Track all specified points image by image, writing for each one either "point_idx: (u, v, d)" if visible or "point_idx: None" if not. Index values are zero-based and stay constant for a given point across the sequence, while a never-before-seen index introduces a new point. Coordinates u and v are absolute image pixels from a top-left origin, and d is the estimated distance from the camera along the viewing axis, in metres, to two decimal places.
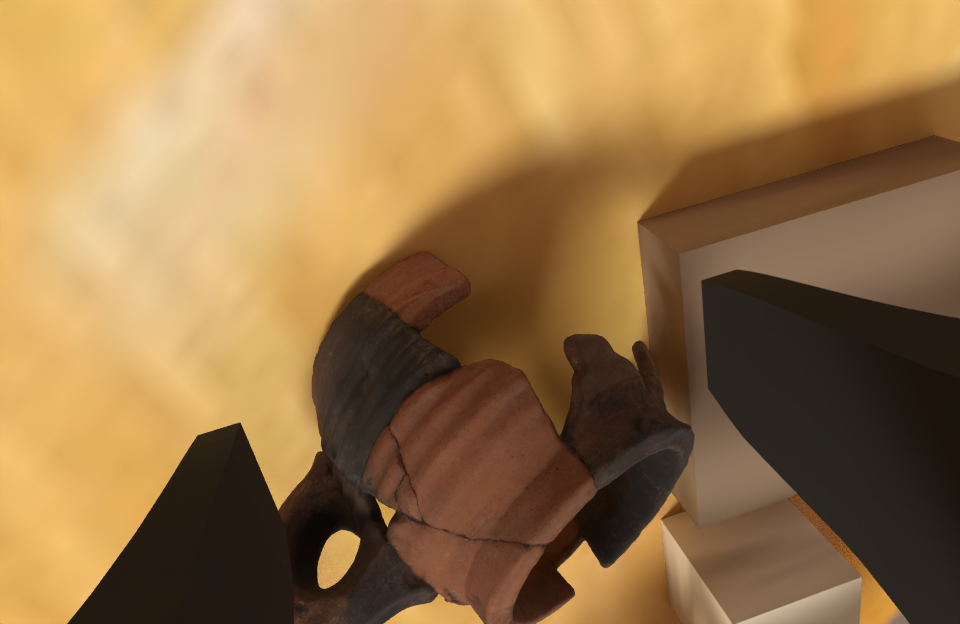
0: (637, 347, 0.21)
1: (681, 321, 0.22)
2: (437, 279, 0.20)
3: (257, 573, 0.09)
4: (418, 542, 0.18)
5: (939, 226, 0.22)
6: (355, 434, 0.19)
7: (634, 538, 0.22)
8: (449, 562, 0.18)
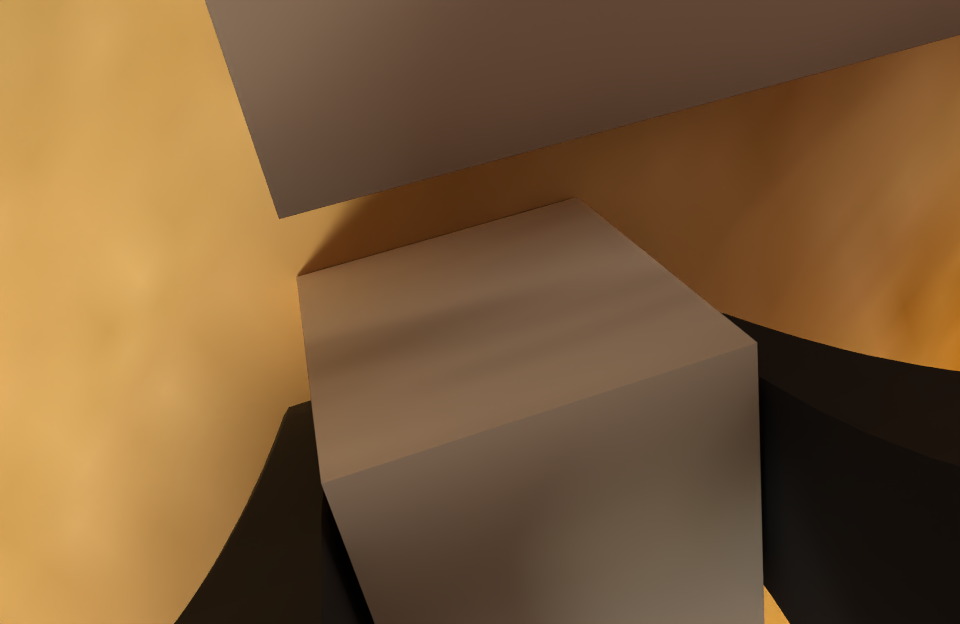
0: None
1: None
2: None
3: None
4: None
5: None
6: None
7: None
8: None
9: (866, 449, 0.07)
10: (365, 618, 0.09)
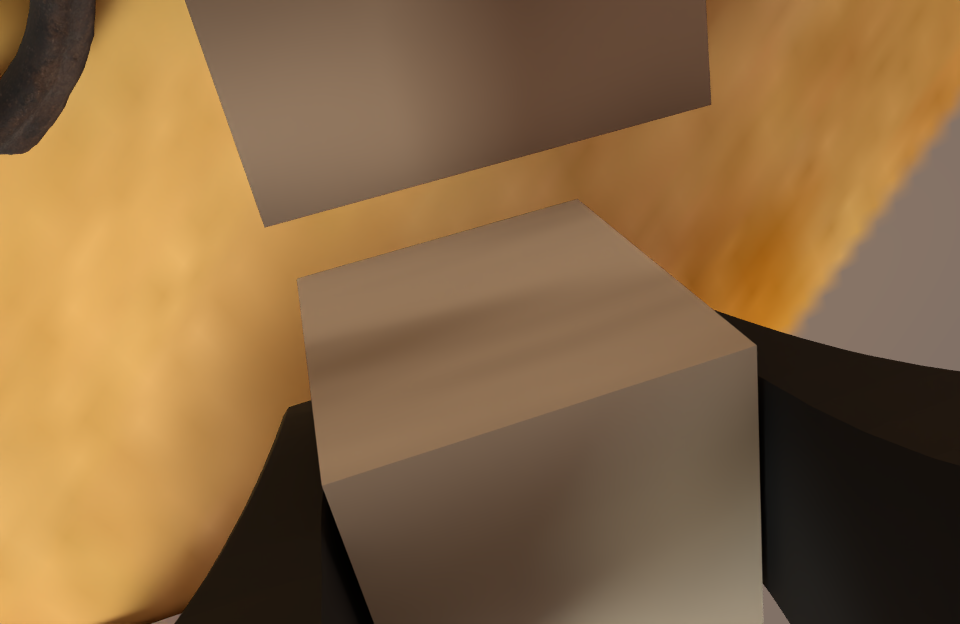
0: None
1: None
2: None
3: None
4: None
5: None
6: None
7: (28, 93, 0.12)
8: None
9: (866, 449, 0.07)
10: (365, 618, 0.09)
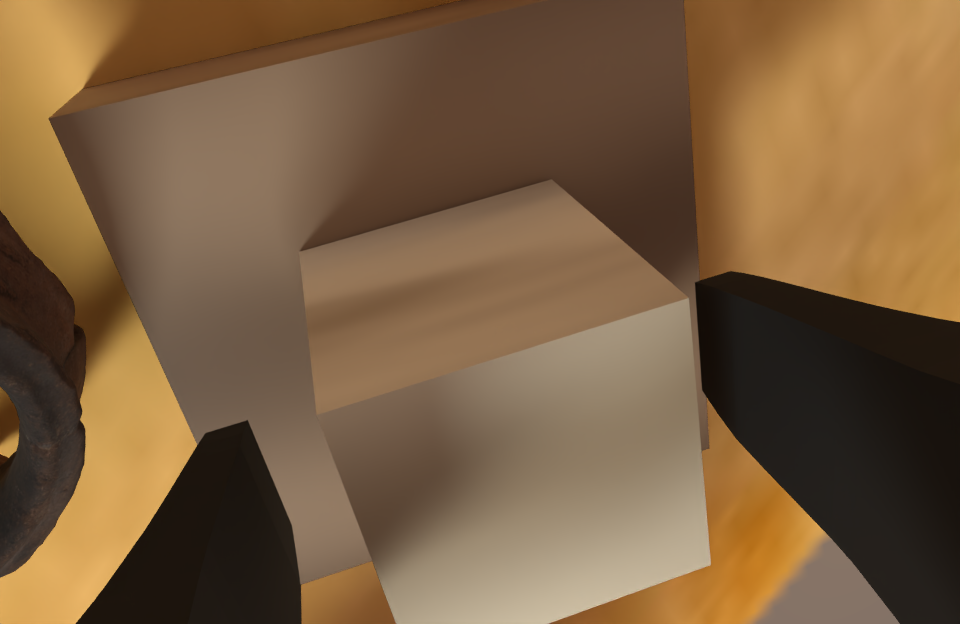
0: None
1: (111, 249, 0.12)
2: None
3: (265, 570, 0.09)
4: None
5: (582, 94, 0.13)
6: None
7: (18, 533, 0.12)
8: None
9: None
10: None
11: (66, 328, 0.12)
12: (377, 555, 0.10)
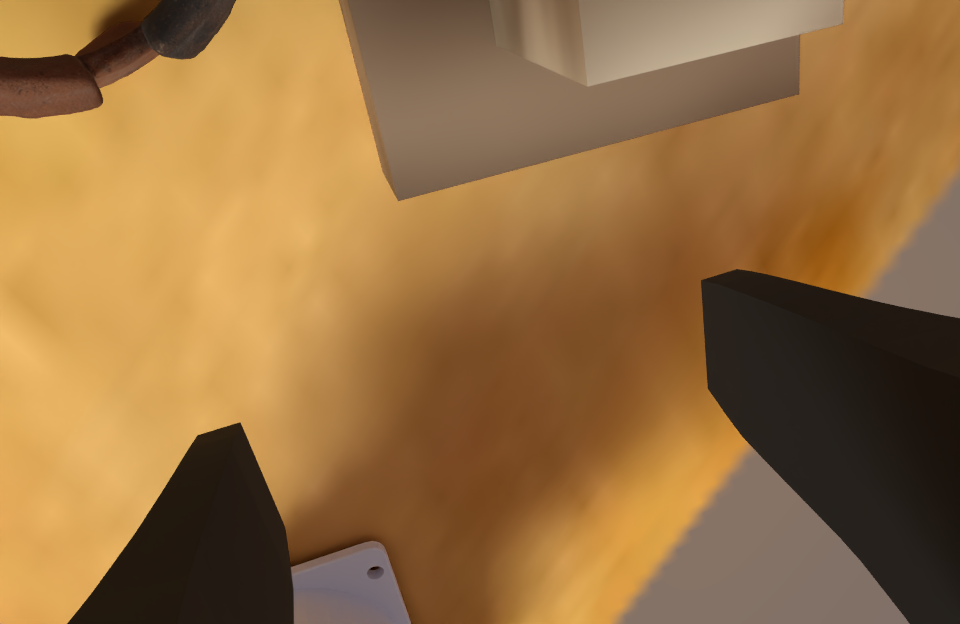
0: None
1: None
2: None
3: (257, 573, 0.09)
4: None
5: None
6: None
7: None
8: None
9: None
10: None
11: None
12: None
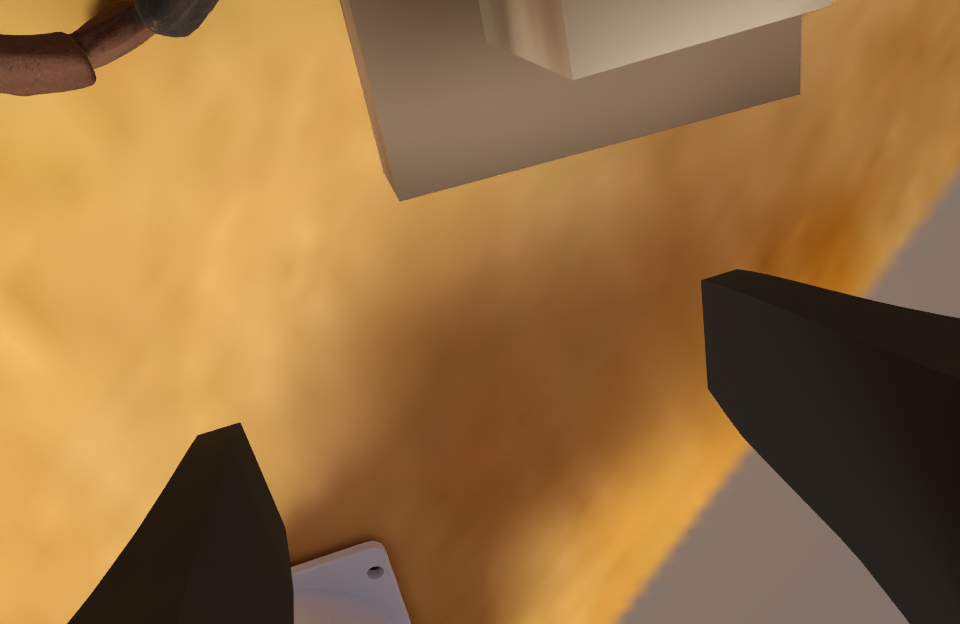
0: None
1: None
2: None
3: (257, 573, 0.09)
4: None
5: None
6: None
7: None
8: None
9: None
10: None
11: None
12: None
